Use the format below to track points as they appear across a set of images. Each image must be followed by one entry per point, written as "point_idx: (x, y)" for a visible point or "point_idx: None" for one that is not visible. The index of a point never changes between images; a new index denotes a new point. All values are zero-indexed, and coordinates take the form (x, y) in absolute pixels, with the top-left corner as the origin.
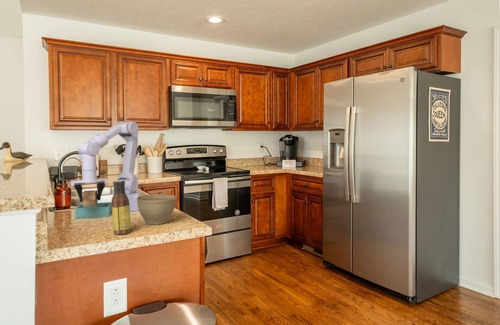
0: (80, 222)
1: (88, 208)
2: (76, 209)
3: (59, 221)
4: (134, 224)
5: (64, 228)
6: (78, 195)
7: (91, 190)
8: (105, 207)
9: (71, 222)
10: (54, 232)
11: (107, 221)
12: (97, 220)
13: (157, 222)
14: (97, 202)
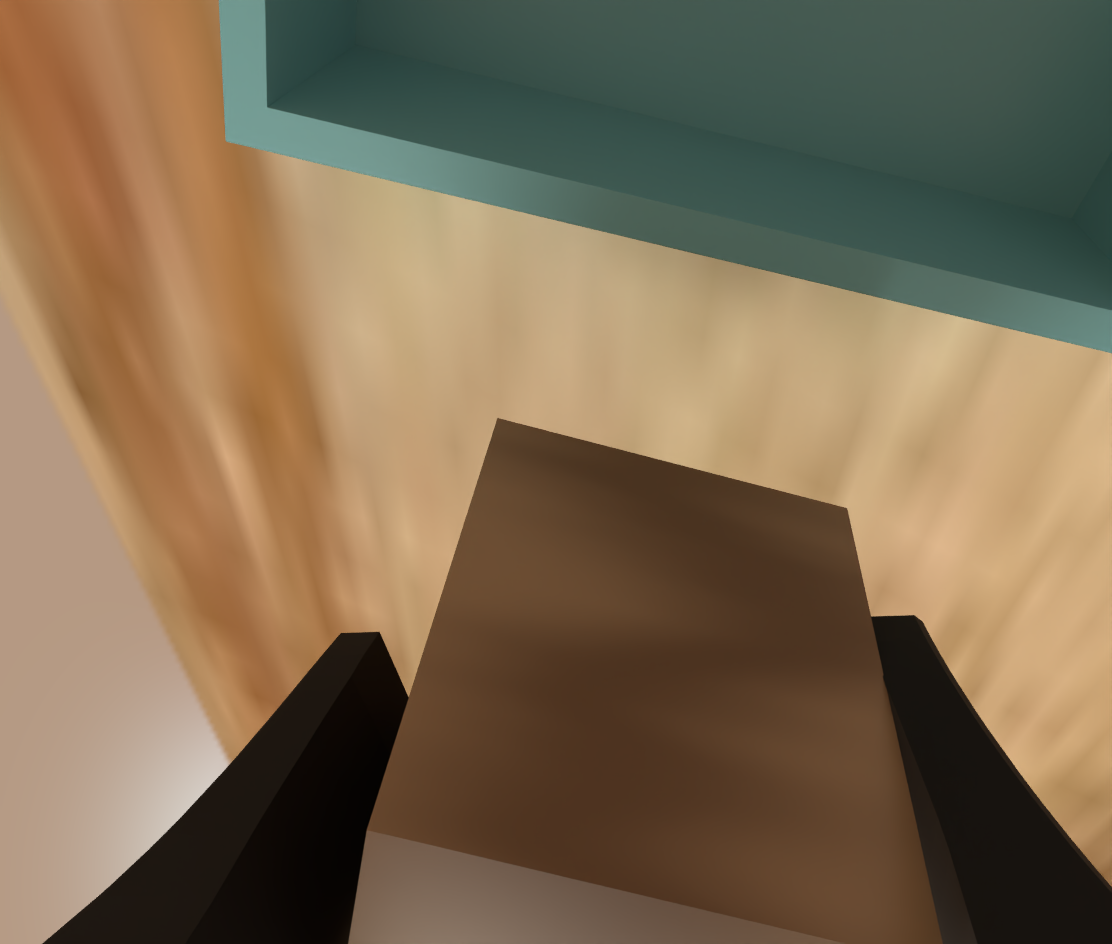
0: (466, 464)
1: (604, 226)
2: (273, 140)
3: (69, 203)
4: (1104, 857)
5: (300, 659)
6: (217, 788)
7: (677, 912)
8: (1078, 342)
9: (319, 394)
10: (237, 744)
11: (874, 596)
12: (747, 462)
13: None
14: (846, 542)
